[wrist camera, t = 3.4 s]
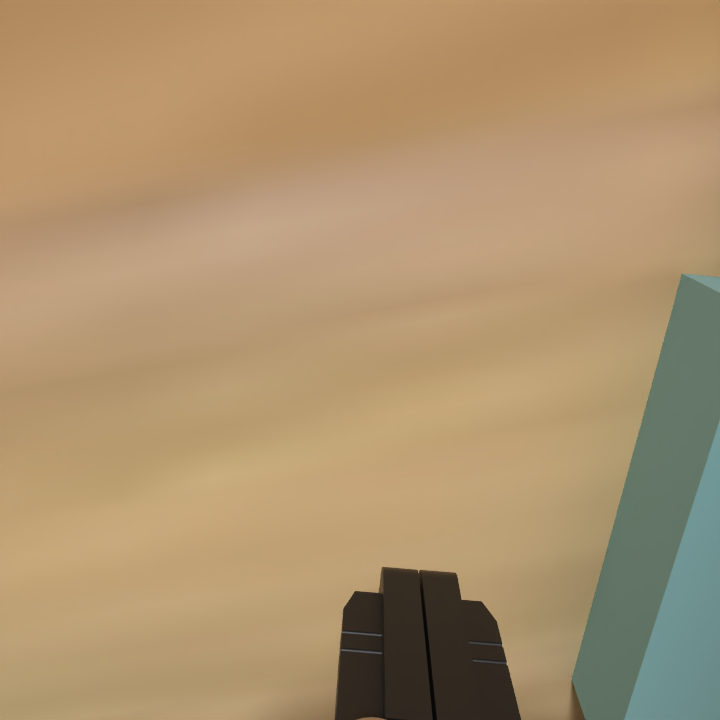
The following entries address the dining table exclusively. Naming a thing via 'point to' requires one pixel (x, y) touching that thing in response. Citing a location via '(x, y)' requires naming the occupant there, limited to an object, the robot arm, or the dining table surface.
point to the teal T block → (665, 541)
